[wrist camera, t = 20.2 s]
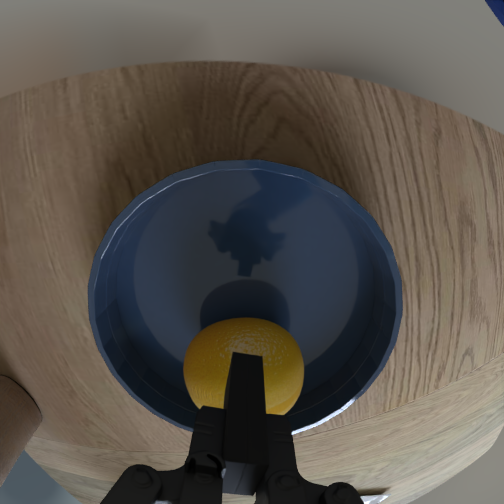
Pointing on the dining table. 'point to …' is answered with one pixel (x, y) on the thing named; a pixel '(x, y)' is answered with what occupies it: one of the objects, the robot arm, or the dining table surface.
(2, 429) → the tall ceramic vase
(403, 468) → the dining table surface
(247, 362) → the robot arm
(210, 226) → the bowl
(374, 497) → the dessert
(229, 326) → the fruit
